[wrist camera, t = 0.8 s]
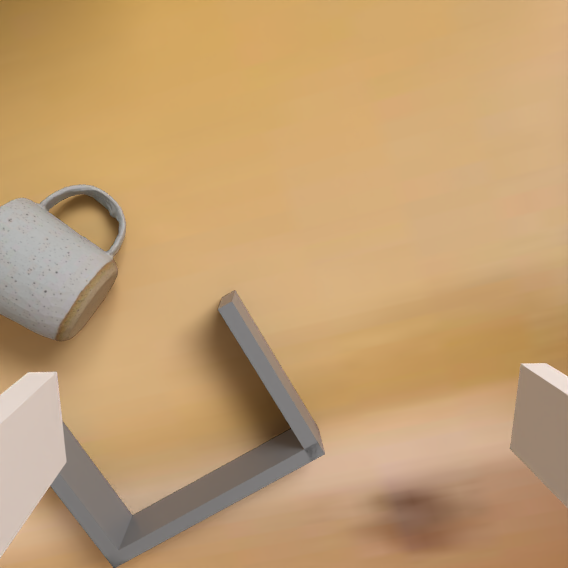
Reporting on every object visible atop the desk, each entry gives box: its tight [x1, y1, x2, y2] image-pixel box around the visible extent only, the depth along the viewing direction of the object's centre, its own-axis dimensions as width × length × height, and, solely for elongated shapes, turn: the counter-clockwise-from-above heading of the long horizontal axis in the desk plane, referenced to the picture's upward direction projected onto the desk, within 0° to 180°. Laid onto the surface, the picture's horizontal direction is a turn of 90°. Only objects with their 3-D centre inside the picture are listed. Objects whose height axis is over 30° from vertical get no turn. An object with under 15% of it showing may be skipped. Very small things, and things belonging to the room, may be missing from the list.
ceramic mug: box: [0, 185, 126, 341], centre depth 31 cm, size 11×8×8 cm
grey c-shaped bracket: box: [50, 290, 325, 568], centre depth 36 cm, size 14×19×4 cm
